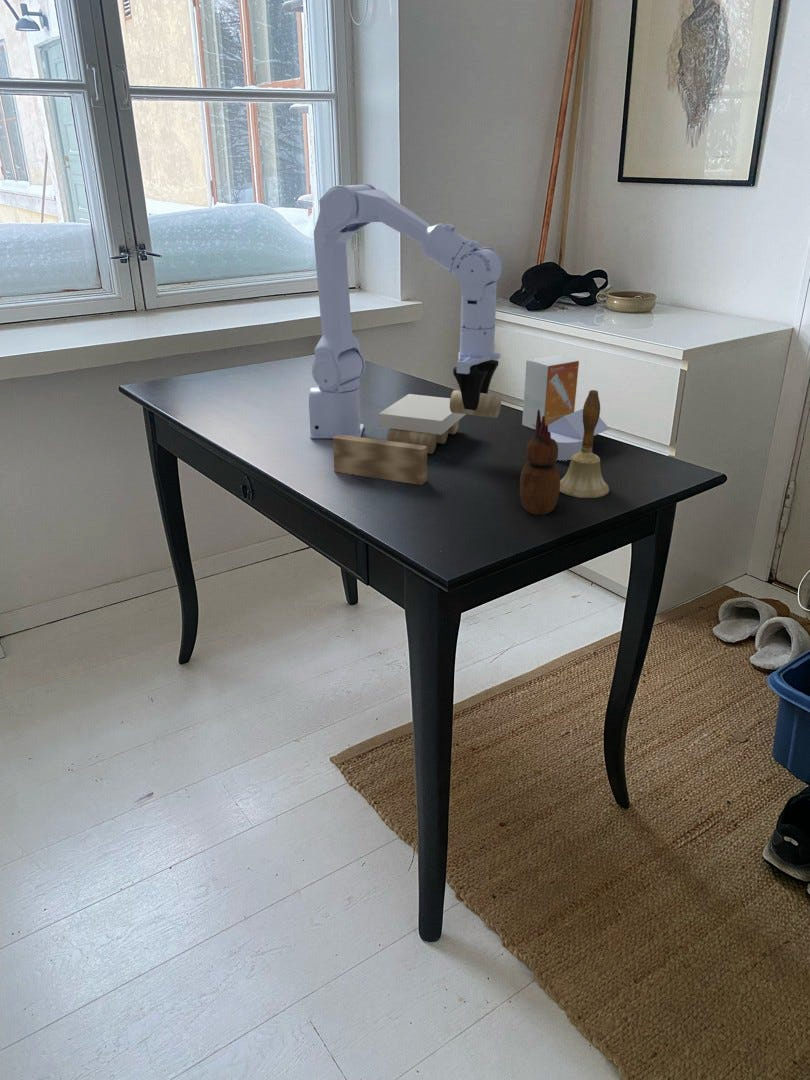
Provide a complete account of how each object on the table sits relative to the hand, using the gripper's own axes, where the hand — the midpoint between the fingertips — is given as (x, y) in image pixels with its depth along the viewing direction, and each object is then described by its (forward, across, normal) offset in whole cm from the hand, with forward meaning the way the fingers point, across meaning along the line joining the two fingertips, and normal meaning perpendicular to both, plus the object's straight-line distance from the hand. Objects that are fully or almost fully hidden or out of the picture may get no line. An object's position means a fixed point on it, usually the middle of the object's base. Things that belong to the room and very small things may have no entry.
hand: (474, 405), depth 142 cm
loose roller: (+2, 0, 0) cm, 2 cm away
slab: (+5, +4, +11) cm, 13 cm away
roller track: (+9, 0, +11) cm, 14 cm away
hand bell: (+9, -9, -21) cm, 25 cm away
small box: (+9, +22, -8) cm, 25 cm away
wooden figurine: (+9, -20, -17) cm, 28 cm away
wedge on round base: (+9, +9, -15) cm, 20 cm away
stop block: (+9, -16, +11) cm, 21 cm away
